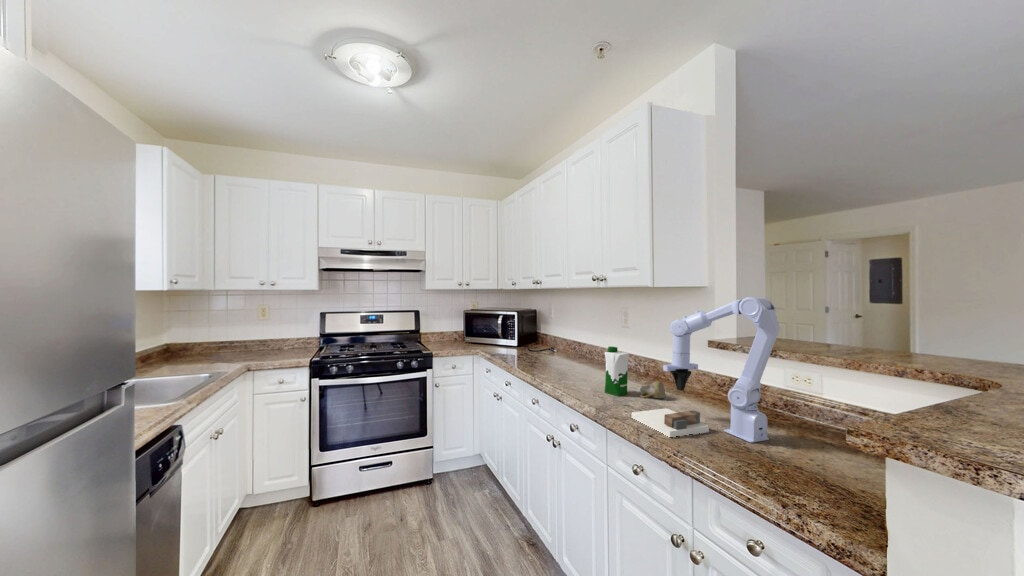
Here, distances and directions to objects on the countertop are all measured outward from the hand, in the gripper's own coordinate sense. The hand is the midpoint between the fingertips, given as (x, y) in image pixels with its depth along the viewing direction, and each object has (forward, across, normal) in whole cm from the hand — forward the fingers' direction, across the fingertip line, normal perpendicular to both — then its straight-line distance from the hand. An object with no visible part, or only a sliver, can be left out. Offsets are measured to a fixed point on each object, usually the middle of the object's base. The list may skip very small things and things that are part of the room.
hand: (680, 389), depth 132 cm
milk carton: (+10, +5, -31) cm, 33 cm away
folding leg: (+7, +10, +11) cm, 17 cm away
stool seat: (+9, +11, +6) cm, 16 cm away
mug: (+10, -7, -22) cm, 25 cm away
